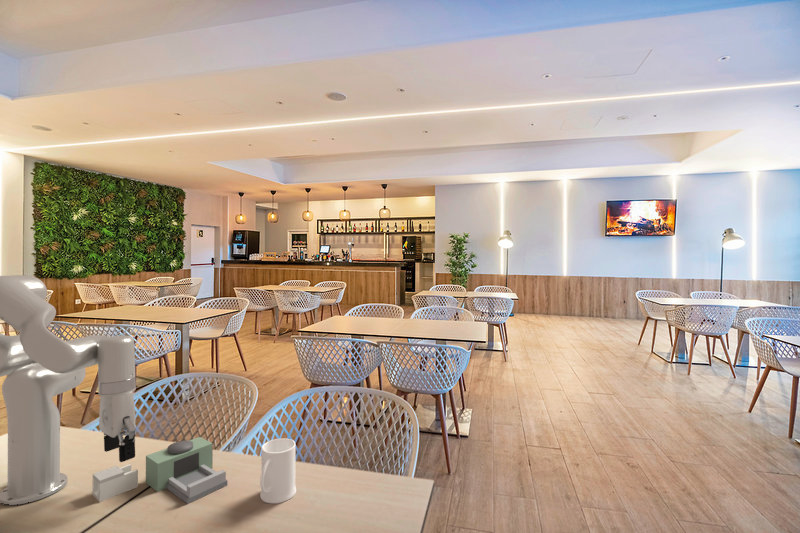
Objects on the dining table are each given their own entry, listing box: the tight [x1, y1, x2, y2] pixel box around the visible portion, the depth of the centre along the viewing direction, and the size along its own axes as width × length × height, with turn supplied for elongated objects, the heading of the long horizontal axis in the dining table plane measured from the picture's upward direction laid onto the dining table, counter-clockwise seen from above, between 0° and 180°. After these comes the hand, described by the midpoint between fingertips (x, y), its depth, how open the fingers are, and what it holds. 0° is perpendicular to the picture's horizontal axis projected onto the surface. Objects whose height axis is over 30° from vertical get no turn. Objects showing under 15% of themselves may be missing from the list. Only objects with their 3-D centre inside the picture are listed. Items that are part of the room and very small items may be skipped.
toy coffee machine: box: [145, 436, 228, 505], centre depth 102 cm, size 18×14×8 cm
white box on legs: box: [91, 463, 139, 503], centre depth 98 cm, size 8×5×5 cm, turn 144°
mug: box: [259, 437, 297, 504], centre depth 95 cm, size 12×8×12 cm
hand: (119, 454), depth 98 cm, fingers open, 9 cm apart
